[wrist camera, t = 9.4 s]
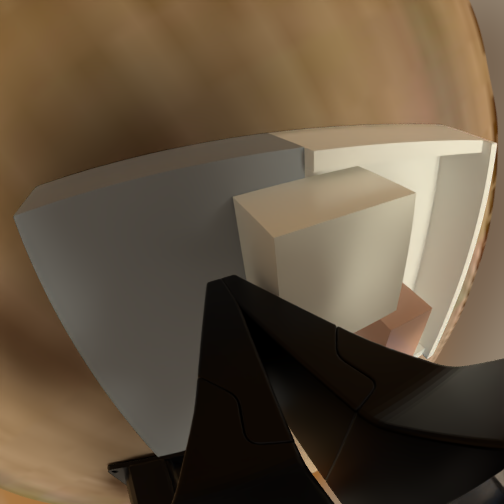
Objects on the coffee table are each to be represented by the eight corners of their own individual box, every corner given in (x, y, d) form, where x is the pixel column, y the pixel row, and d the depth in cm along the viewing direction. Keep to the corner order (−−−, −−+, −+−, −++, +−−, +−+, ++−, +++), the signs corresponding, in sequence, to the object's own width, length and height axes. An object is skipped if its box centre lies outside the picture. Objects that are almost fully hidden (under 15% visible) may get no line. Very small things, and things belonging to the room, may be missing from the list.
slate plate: (277, 381, 18) (295, 412, 16) (149, 420, 16) (157, 456, 14) (267, 133, 10) (304, 146, 8) (35, 186, 8) (13, 216, 6)
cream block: (353, 272, 12) (395, 310, 10) (252, 312, 11) (284, 365, 9) (358, 165, 9) (416, 193, 7) (232, 196, 8) (273, 237, 6)
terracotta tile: (324, 335, 16) (361, 320, 17) (368, 390, 13) (406, 369, 14) (332, 272, 14) (373, 258, 15) (390, 330, 11) (432, 307, 11)
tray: (401, 324, 21) (432, 355, 18) (277, 381, 18) (303, 426, 15) (442, 124, 13) (496, 143, 10) (267, 133, 10) (324, 155, 8)
